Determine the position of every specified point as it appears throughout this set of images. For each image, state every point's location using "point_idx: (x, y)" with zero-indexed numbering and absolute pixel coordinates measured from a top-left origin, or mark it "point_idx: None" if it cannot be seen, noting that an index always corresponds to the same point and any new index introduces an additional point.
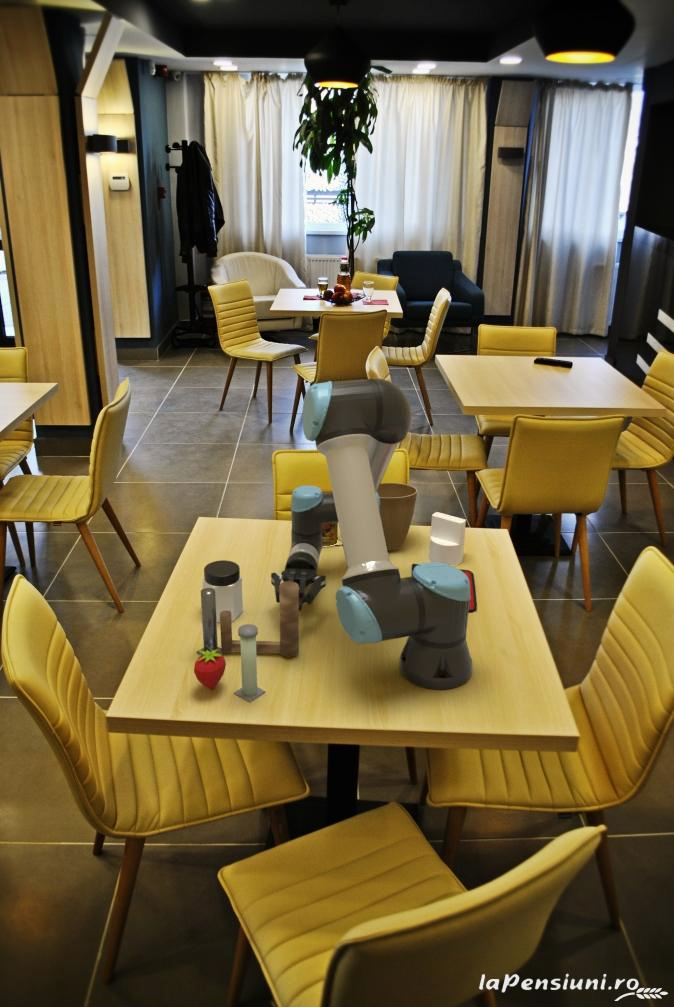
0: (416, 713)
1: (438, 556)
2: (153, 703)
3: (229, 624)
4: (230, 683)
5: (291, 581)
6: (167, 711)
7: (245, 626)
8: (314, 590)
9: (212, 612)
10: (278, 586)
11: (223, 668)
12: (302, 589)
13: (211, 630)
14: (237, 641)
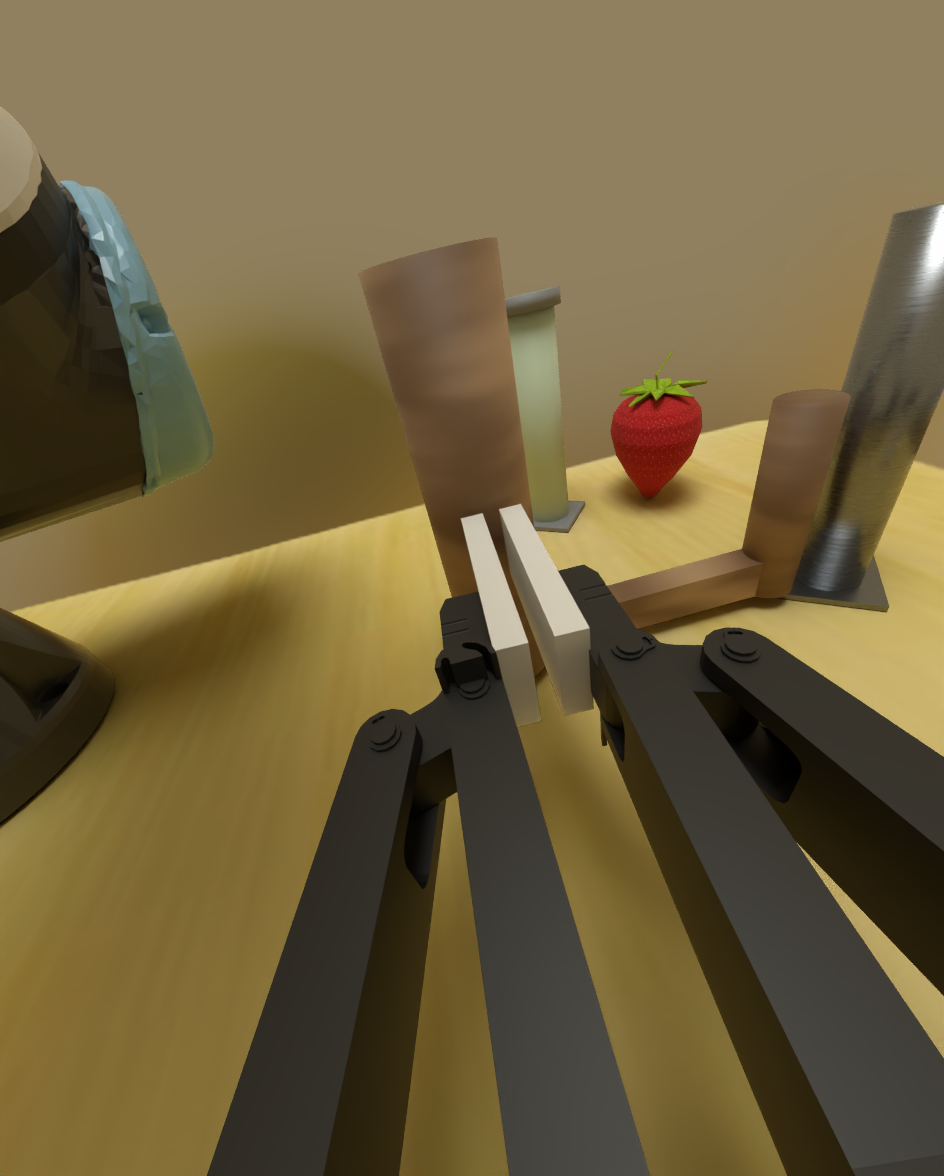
0: (167, 591)
1: None
2: (731, 444)
3: (762, 454)
4: (619, 519)
5: (879, 1119)
6: None
7: (542, 291)
8: (320, 865)
9: (852, 357)
10: (886, 763)
11: (612, 431)
12: (486, 805)
13: None
14: (729, 565)
